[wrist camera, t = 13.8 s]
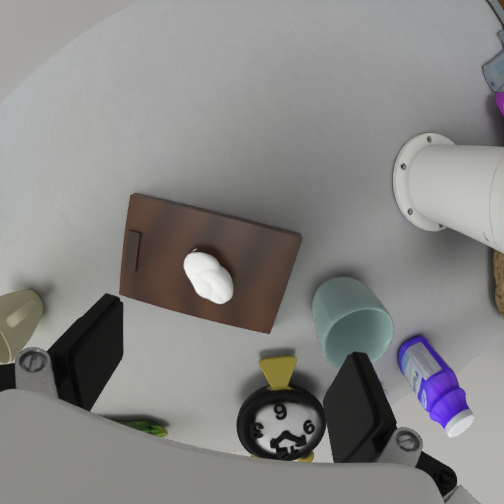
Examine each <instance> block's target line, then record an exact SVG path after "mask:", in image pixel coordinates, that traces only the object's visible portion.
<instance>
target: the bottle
mask: <svg viewBox="0 0 504 504" xmlns="http://www.w3.org/2000/svg"><path fill="white" fill-rule="evenodd" d="M398 360H399V366H400V370H401V372H402V374H403V375H404V376H405V378H406V379H407V381H408V382H409V384H410V386H411V387H412V389H413V391H414V392H415V394H416V395H417V397H418V399H419V401H420V403H421V405H422V407H423V408H424V409H425V410H426V411H428V412H429V413H430V418H431V419H432V420H433V421H436V422H438V423H440V424H441V425H442V427H443V428H444V430H445V432H446V433H447V434H448V436H449V437H455V436H457V435H459V434H461V433H462V432H463V431H465V430H466V429H467V428H468V427H469V426H470V425H471V424H472V422H473V421H474V414H473V413H472V411H471V410H470V409H469V407H468V405H467V403H466V397H465V395H466V394H465V391H464V390H463V389H462V388H459V384H458V380H457V378H456V375H455V373H454V372H453V370H452V369H451V368H450V367H449V366H448V364H447V363H446V362H445V361H444V359H443V358H442V357H441V356H440V355H439V353H438V352H437V351H436V350H435V348H434V347H433V346H432V345H431V343H430V342H429V341H428V340H427V339H426V338H424V337H415V338H413V339H411V340H409V341H407V342H405V343H404V344H403V345H402V346H401V348H400V351H399V357H398Z"/></svg>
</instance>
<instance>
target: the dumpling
mask: <svg viewBox="0 0 504 504" xmlns="http://www.w3.org/2000/svg"><path fill="white" fill-rule="evenodd" d="M195 250H196V249H195ZM195 250H193V251H195ZM184 269H185V272H186V275H187V276H188V277H189V279H190V280H191V283H192V284H193V286H194V288H195V291H196V292H197V293H198V294H199V295H200V296H201V297H203V298H207V299H209V300H211V301H213V302H215V303H217V304H223V303H225V302H227V301H229V300H230V298H231V297H232V295H233V282H232V279H231V276H230V274H229V273H228V271H227V270H226V269H225V268H223V267H221V266H220V264H219V262H218V261H217V260H216V258H214V257H213V256H211V255H209V254H206V253H201V252H193V253H190V254H188V255H187V257H186V258H185V260H184Z"/></svg>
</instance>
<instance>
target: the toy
mask: <svg viewBox="0 0 504 504" xmlns="http://www.w3.org/2000/svg"><path fill="white" fill-rule="evenodd" d="M495 101H496V104H497V106H498V108H499V110H500V111H501V113H502V115H503V116H504V92H498V93H496V95H495Z"/></svg>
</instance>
